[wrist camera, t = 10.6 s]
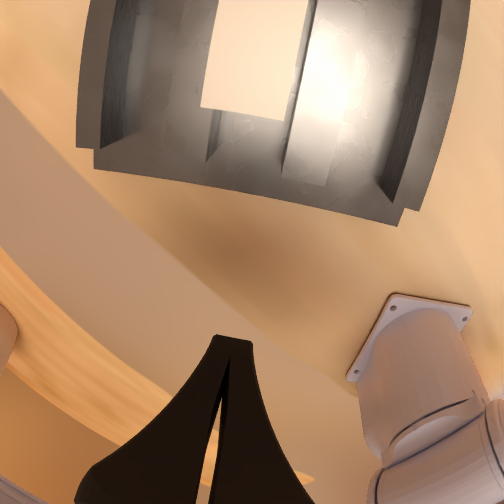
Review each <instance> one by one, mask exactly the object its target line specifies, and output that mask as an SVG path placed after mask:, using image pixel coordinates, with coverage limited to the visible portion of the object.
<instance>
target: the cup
mask: <svg viewBox="0 0 504 504" xmlns="http://www.w3.org/2000/svg"><path fill="white" fill-rule="evenodd" d="M17 334H18V327H17V324H16V322H15V320H14V319H13V317H12V316H11V315H10V313H9V312H8V311H7V310H6V309H5V308H4V307H3V306H2V305H0V377H1V375H2V373H3V371H4V368H5V366H6V364H7V361H8V359H9V357H10V355H11V353H12V350H13V346H14V343H15V340H16V337H17Z"/></svg>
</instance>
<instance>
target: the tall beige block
mask: <svg viewBox="0 0 504 504" xmlns="http://www.w3.org/2000/svg"><path fill="white" fill-rule="evenodd" d="M307 5H308V0H219V3H218V8H217V13H216V18H215V23H214V28H213V33H212V39H211V44H210V49H209V55H208V61H207V67H206V73H205V79H204V85H203V91H202V98H201V105H200V107H202V108H210V109H217V110H224V111H231V112H237V113H243V114H249V115H255V116H260V117H265V118H271V119H276V120H281V121H284V117H285V112H286V107H287V102H288V97H289V93H290V88H291V83H292V78H293V73H294V68H295V64H296V59H297V54H298V49H299V44H300V39H301V34H302V29H303V24H304V20H305V15H306V10H307Z"/></svg>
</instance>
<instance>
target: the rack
mask: <svg viewBox="0 0 504 504" xmlns="http://www.w3.org/2000/svg"><path fill="white" fill-rule="evenodd" d="M470 1H471V0H308V5H307V10H306V15H305V20H304V24H303V29H302V34H301V39H300V44H299V49H298V54H297V59H296V64H295V68H294V73H293V78H292V83H291V88H290V93H289V97H288V102H287V107H286V112H285V117H284V121H281V120H276V119H271V118H265V117H260V116H255V115H249V114H243V113H237V112H231V111H224V110H217V109H210V108H202V107H200V105H201V98H202V91H203V85H204V79H205V73H206V67H207V61H208V55H209V49H210V44H211V39H212V33H213V28H214V23H215V18H216V13H217V8H218V3H219V0H91V1H90V6H89V11H88V16H87V22H86V28H85V34H84V40H83V48H82V55H81V64H80V73H79V85H78V98H77V117H76V147H78V148H90V149H94V169H98V170H106V171H114V172H121V173H128V174H135V175H142V176H149V177H156V178H162V179H169V180H175V181H181V182H187V183H193V184H199V185H205V186H211V187H216V188H222V189H227V190H233V191H238V192H243V193H249V194H254V195H259V196H264V197H269V198H274V199H279V200H284V201H289V202H293V203H298V204H303V205H307V206H312V207H316V208H321V209H325V210H330V211H334V212H339V213H343V214H347V215H351V216H356V217H360V218H364V219H368V220H372V221H376V222H380V223H384V224H388V225H392V226H396V227H397V226H398V223H399V221H400V218H401V215H402V213H403V210H404V207H405V208H408V209H412V210H415V211H418V212H419V210H420V207H421V205H422V202H423V199H424V196H425V194H426V191H427V188H428V185H429V182H430V179H431V176H432V173H433V170H434V167H435V164H436V161H437V158H438V155H439V152H440V148H441V145H442V142H443V138H444V135H445V131H446V128H447V124H448V120H449V116H450V113H451V109H452V105H453V101H454V96H455V92H456V88H457V83H458V78H459V74H460V69H461V64H462V58H463V53H464V47H465V41H466V34H467V27H468V19H469V11H470Z"/></svg>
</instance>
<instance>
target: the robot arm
mask: <svg viewBox="0 0 504 504" xmlns="http://www.w3.org/2000/svg"><path fill="white" fill-rule="evenodd" d="M393 305H395V306H394V307H392V308H390V307H391V306H393ZM472 313H473V310H472V308H471V307H469V306H464V305H458V304H452V303H446V302H440V301H435V300H429V299H423V298H417V297H412V296H406V295H400V294H394V295H392V296H391V297H390V298H389V299H388V301H387V303H386V305H385V307H384V309H383V311H382V313H381V315H380V317H379V319H378V321H377V323H376V324H375V326H374V328H373V330H372V332H371V334H370V335H369V337H368V339H367V341H366V343H365V344H364V346H363V348H362V350H361V351H360V353H359V355H358V357H357V358H356V360H355V362H354V363H353V365H352V367H351V368H350V370H349V372H348V373H347V375H346V380H347V381H349V382H356V383H357V390H358V397H359V404H360V411H361V418H362V426H363V434H364V438H365V441H366V444H367V446H368V447H369V449H370V450H371V452H372V453H373V454H374V455H375V456H376V457H377V458H379V459H380V460H382V467H381V468H380V469H378V470H377V471H376V472H375V473H374V474H373V476H372V478H371V480H370V483H369V485H368V491H367V504H504V400H501V399H494V400H493V401H492V402H490V399H489V397H488V394H487V392H486V389H485V387H484V385H483V382H482V380H481V377H480V375H479V373H478V371H477V368H476V366H475V364H474V362H473V360H472V357H471V355H470V353H469V351H468V349H467V347H466V345H465V343H464V341H463V339H462V337H461V335H460V332H461V331H462V329H463V328H464V326H465V325H466V323H467V322H468V320H469V318H470V317H471V315H472ZM221 398H222V403H221V415H220V427H219V440H218V450H217V458H216V463H215V469H214V474H213V480H212V485H211V491H210V496H209V502H208V504H315V503H314V502H313V500H312V499H311V498H310V496H309V495H308V493H307V492H306V490H305V489H304V488H303V486H302V484H301V483H300V481H299V480H298V478H297V476H296V475H295V473H294V471H293V469H292V468H291V466H290V464H289V462H288V460H287V459H286V457H285V455H284V453H283V451H282V449H281V447H280V445H279V442H278V440H277V438H276V436H275V433H274V431H273V429H272V426H271V423H270V421H269V418H268V415H267V412H266V409H265V406H264V403H263V399H262V396H261V392H260V388H259V384H258V380H257V375H256V370H255V364H254V356H253V343H252V342H251V341H248V340H243V339H237V338H232V337H227V336H222V335H217V334H216V335H214V336H213V338H212V341H211V343H210V345H209V347H208V349H207V351H206V353H205V354H204V356H203V358H202V360H201V361H200V363H199V364H198V366H197V367H196V369H195V370H194V372H193V373H192V375H191V376H190V378H189V379H188V380H187V382H186V383H185V384H184V386H183V387H182V388H181V389H180V391H179V392H178V393H177V394H176V395H175V397H174V398H173V399H172V400H171V401H170V402H169V404H168V405H167V406H166V407H165V408H164V409H163V410H162V411H161V412H160V413H159V414H158V415H157V416H156V417H155V418H154V419H153V420H152V421H151V422H150V423H149V424H148V425H147V426H146V427H145V428H143V429H142V430H141V431H140V432H139V433H138V434H137V435H135V436H134V437H133V438H132V439H130V440H129V441H128V442H127V443H125V444H124V445H123V446H121V447H120V448H119V449H117V450H116V451H115V452H113V453H112V454H110V455H109V456H107V457H106V458H104V459H103V460H101V461H100V462H98V463H96V464H95V465H93V466H92V467H91V468H90V469H89V471H88V472H87V473H86V475H85V476H84V478H83V479H82V481H81V483H80V485H79V487H78V490H77V493H76V496H75V499H74V502H75V504H196V499H197V494H198V489H199V483H200V478H201V473H202V468H203V463H204V458H205V453H206V449H207V445H208V442H209V438H210V435H211V432H212V428H213V425H214V422H215V418H216V415H217V412H218V408H219V405H220V401H221ZM0 504H50V503H48V502H46V501H44V500H42V499H40V498H38V497H36V496H35V495H33V494H31V493H29V492H28V491H26V490H24V489H22V488H21V487H19V486H17V485H16V484H14V483H12V482H11V481H9V480H8V479H6V478H4V477H3V476H1V475H0Z"/></svg>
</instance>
